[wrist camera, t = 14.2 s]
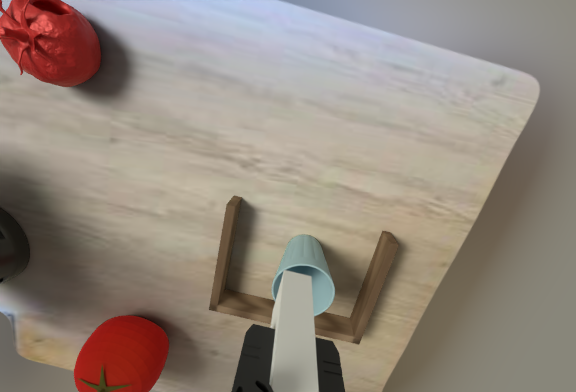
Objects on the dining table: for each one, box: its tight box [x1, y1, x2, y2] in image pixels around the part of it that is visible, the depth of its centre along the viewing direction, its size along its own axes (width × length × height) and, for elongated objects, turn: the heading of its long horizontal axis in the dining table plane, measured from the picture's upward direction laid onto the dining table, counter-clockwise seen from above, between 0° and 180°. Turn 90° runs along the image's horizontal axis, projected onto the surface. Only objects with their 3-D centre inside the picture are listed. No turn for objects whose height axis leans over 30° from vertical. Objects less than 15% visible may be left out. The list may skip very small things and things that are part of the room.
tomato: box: [74, 315, 169, 392], centre depth 45 cm, size 13×14×12 cm
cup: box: [272, 235, 335, 316], centre depth 38 cm, size 8×8×10 cm
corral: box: [209, 196, 399, 344], centre depth 42 cm, size 24×18×4 cm
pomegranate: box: [0, 0, 101, 87], centre depth 32 cm, size 10×10×9 cm
